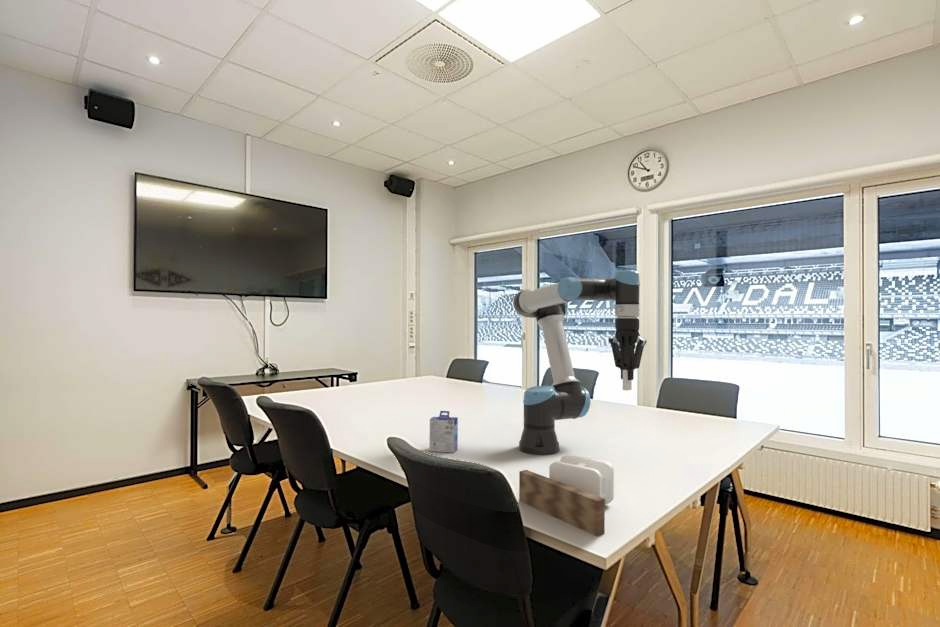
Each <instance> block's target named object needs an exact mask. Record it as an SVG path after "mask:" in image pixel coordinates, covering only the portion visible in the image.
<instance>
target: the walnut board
mask: <svg viewBox="0 0 940 627" xmlns="http://www.w3.org/2000/svg"><path fill="white" fill-rule="evenodd" d="M518 473H519V476H518V477H519V479H518V480H519V486H518V487H519V490H518V491H519V494H518V495H519V497H518V498H519V499H518V500H519V502H521V503H523V504H525V505H527V506H529V507H532V508H534V509H537V510H539V511H541V512H542V513H545V514H547V515H550V516H551V515H552V517H554V518H556V519H558V520H560V521H563V522H565V523H566V524H569V525H571V526H574V527H575V528H577V529H581V530H583V531H585V532H587V533H589V534H592V535H594V536H596V537H599V536H601V535H604V534H605V531H606V530H605V529H606V528H605V524H606V522H605V516H606V515H605V508H606V507H605V505H606V504H605V499H604V498H601V497H599V496H596V495H593V494H590V493H588V492H585V491H582V490H580V489H577V488H574V487H572V486H569V485H566V484H563V483H561V482H558V481H555V480H553V479H550V478H549V477H547V476H544V475H543V474H542V475H541V474H538V473H536V472H533V471H531V470H528V469H523V470H520V471H519V472H518Z"/></svg>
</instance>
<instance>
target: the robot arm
mask: <svg viewBox="0 0 940 627" xmlns="http://www.w3.org/2000/svg"><path fill="white" fill-rule="evenodd" d="M640 286H641V282H640V273H639V272H638V271H637V270H633V269H630V270H618V271H616V272H615V274H614V278H613V277H612V278H597V277H596V278H593V277H592V278H589V277H575V276H569V277H562V278H561V279H560V281H558V282H556V283H553V284H550V285H546V286H543V287H538V288H536V289H531V288H526V289H523V290H520V291H518V292H517V293H516V294H515V295H514V297H513V301H512V304H513V305H512V306H513V309H514V310H515V312H516V313H517V314H519V315H520V316H521V317H525V318H534V319H536V323H537V325H538V326H539V327H541V329H542V330H541V331H542V335H543V339H544V344H545V347H546V353H547V357H548V362H549V363H548V364H549V366H550V372H551V376H552V380H553V383H552V385H537V386H533V387H529V388H527V389H526V390H525V391H524V393H523V430H522V432H521V436H520V440H519V442H518V448H519V450H520V451H521V452H524V453H527V454H532V455H552V454H555V453H558V452H559V451H560V443H559V441H558V436H557V433H556V430H555V428H556V427H555V425H556V424H555V423H556V422H555V421H560V420H569V419H570V420H571V419H572V420H576V419H578V418H583V417H585V416H586V415H587V414H588V412H589V410H590V407H591V395H590V392H589V391H588V390H587V388H585V387H583V386H581V381H580V380H579V379H577V378H576V377H575V372H574V368H573V364H572V359H571V356H570V350H569V347H568V346H569V345H568V343H567V338H566V333H565V329H564V324H563V323H564V320H565V319H566V317H565V316H566V315H567V313H568V308H569V304H568V303H569V302H570V303H571V302H575V301H597V302H598V301H599V302H607V301H608V302H609V301H615V302H614V303H615V306H614V309H615V317H616V318H615V319H614V328H615V334H614V335H613V337H612V338H611V337H609V339H608V343H610V346H611V349H612V355H613V361H614V367H616V368H618V369H620V379H621V380H622V391H632V383H633V382H632V381H633V380H634V377H635V376H634V373H635V372H634V371H635V370H636V369H640V366H641V362H642V355H643V352H644V347H645V345H646V344H647V340H646V339H643V338H642V337H641V335H640V332H639V331H640V319H639V318H638V317H640Z"/></svg>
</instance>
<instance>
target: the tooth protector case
mask: <svg viewBox="0 0 940 627" xmlns="http://www.w3.org/2000/svg"><path fill="white" fill-rule="evenodd" d="M548 470H549V472H548V473H549V476H548V478H550V479H553V480H555V481H558V482H561V483H563V484H566V485H569V486H572V487H574V488H577V489H580V490H582V491H585V492H588V493H590V494H593V495H596V496H599V497H601V498H604V499H605V505H608V504H610V503H611V502H612V501H613V500H614V498H615V497H614V496H615V495H614V488H615V487H614V484H615V483H614V482H615V480H614V479H615V478H614V473H615V472H614V471H615V470H614V466H613V465H612V464H611V463H610V462H608V461H607V460H606V461H605V460H599V459H596V458H590V457H585V456H580V455H575V454H565V455H563V456H561V458H560V460H559V461H553V462H552V463H550V465H549V468H548Z"/></svg>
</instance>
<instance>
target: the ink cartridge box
mask: <svg viewBox="0 0 940 627" xmlns="http://www.w3.org/2000/svg"><path fill="white" fill-rule="evenodd" d="M444 413H445V414H444ZM458 425H459V419H458V417H455V416H450V410H440V413H439V416H432V417H431V418H429V449H428V450H429V452H439V453H451V454H452V453H455V452H456V451H458V450H459V448H458V447H459V446H458V445H459V444H458V441H459V440H458V439H459V438H458V437H459V435H458V433H459V432H458V431H459V427H458Z"/></svg>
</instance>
